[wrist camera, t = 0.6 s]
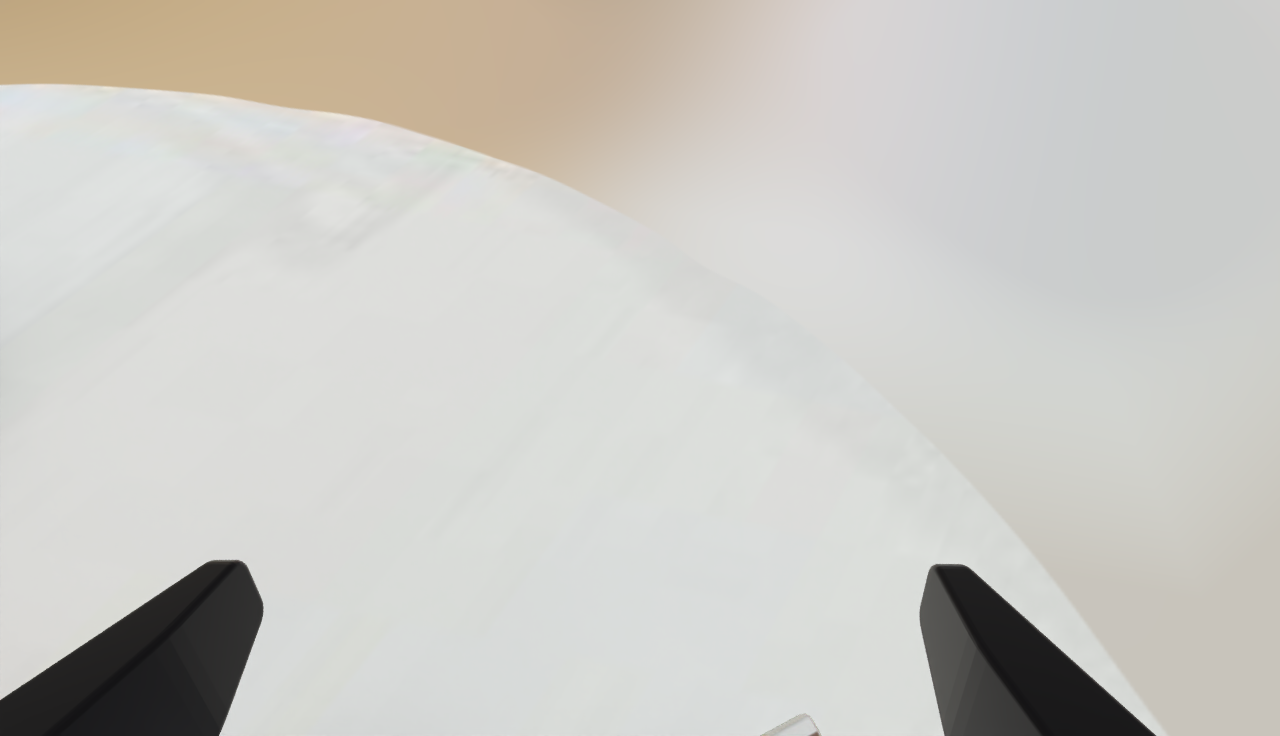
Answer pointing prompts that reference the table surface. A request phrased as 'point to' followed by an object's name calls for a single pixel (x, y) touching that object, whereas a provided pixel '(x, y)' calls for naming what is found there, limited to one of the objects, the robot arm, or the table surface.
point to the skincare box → (796, 727)
